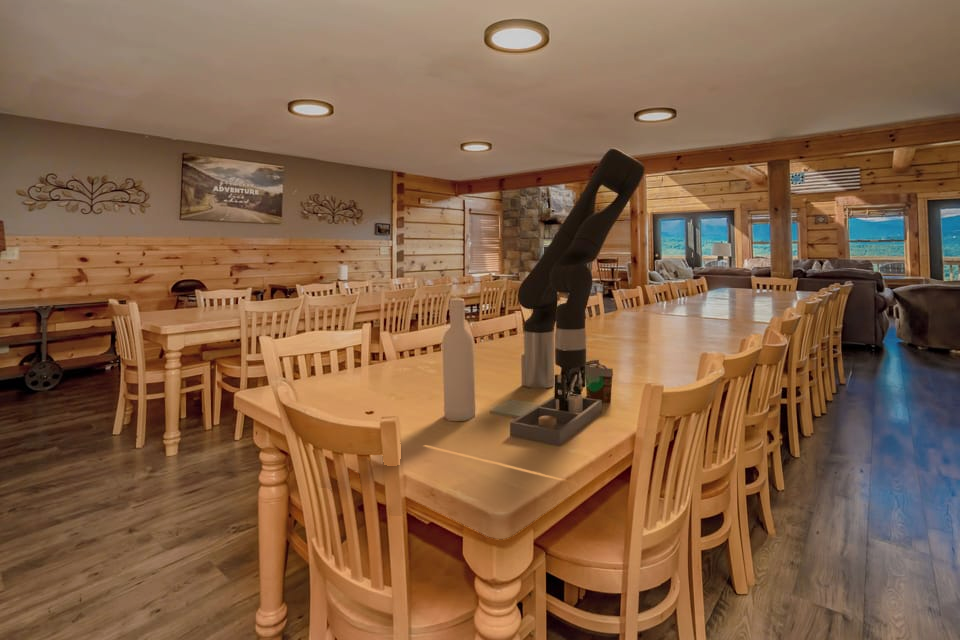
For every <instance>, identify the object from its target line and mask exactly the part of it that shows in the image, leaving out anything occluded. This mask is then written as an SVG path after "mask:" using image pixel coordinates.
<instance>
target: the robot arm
mask: <svg viewBox="0 0 960 640" xmlns="http://www.w3.org/2000/svg"><path fill="white" fill-rule="evenodd" d="M645 169H646V168H645V165H644V164H643V163H642V162H641V161H639V160H638V159H635V158H634V157H632V156H630V155H628V154H627V153H626V152H623V151H621V150H620V149H618V148H616V147H612V148H610V149H609V150H607V151H606V153H604V154H603V157H602V158H601V159H600V161H599V162H598V165H597V166H596V168H595V169H594V172H593V173H592V175H591V177H590V178H589V181H588V182H587V184H586V186H585V188H584V190H583V191H582V193H581V195H580V196H579V198H578V200H577V201H576V203H575V204H574V206H573V208H572V209H571V210H570V212H569V213H568V215H567V216H566V217H565V219H564V221H563V222H562V224H561V225H560V227H559V229H558V230H557V232H556V233H555V235H554V236H553V238H552V240H551V242H550V243H549V245H548V246H547V248H546V249H545V250H544V252H543V254H542V256H541V257H540V258H539V260H538V261H537V263H536V264H535V266H534V267H533V268H532V269H531V270H530V272H529V273H528V274H527V276H525V278H524V280H523V281H522V283H521V284H520V285H519V287H518V291H517V301H518V303H519V305H520V306H521V307H523V309H526V310H532V313H531V314H530V316H529V317H528V318H527V319H526V320H525V321H524V323H523V354H522V355H521V356H520V357H521V366H520V367H521V386H525V387H526V388H531V389H550V388H553V387H554V398H555V399H558V400H559V410H562V411H568V412H569V401H568V400H569V396H570V393H571V394H578V395H582V392H583V390H584V388H586V378H585V365H586V362H587V333H586V310H587V307H588V303H589V300H590V299H589V298H590V296H591V291H592V287H593V275H592V272H591V270H590V268H589V267H588V266H587V264H590V263H592V262H594V261H596V259H597V258H598V255H599V254H600V252H601V250H602V247H603V246H604V243H605V241H606V239H607V237H608V235H609V234H610V231H611V230H612V228H613V226H614V225H615V223H616V221H617V220H618V218H619V217H620V215H621V214H622V212H623V211H624V209H625V208H626V206H627V204H628V203H629V202H630V200H631V198H632V196H633V195H634V193H635V192H636V189H637V188H638V187H639V185H640V183H641V181H642V179H643V176H644V174H645ZM601 186H603V187H604V188H605V189H608V190H610V191H612V192H613V193H615V194H616V195H617V196H616V197H615V198H614V199H613V201H612V202H611V203H609V204H608V205H607V206H605V207H602V208H601V209H600V210H598V211H596V210H595V209H596V201H597V195H598V191H599V189H600V188H601ZM559 293H560V294H568V296H567V300H566V302H564V303H561V304H558V299H559V298H558V297H559V296H558V294H559ZM555 365H556V366H558V367H560V374H555Z"/></svg>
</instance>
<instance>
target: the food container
mask: <svg viewBox="0 0 960 640" xmlns="http://www.w3.org/2000/svg"><path fill="white" fill-rule="evenodd" d="M613 377H614V371H613V368H607V367H606V366H605V365H603V364H601V363H600V360H599V359H593V360H588V361H587V360H586V365H585V388H586V389H585V391H586V398H590V399H597V400H602V403H608V404H609V403H612V389H613V388H612V384H613Z"/></svg>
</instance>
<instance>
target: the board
mask: <svg viewBox="0 0 960 640" xmlns="http://www.w3.org/2000/svg"><path fill="white" fill-rule="evenodd" d="M540 404H541V403H534V402H528V401H523V400H515V399H508V400H507V401H505V402H503V403H501V404H499V405H498V406H496V407H494V408H491V409H489V413H490V414H494V415H498V416H504V417H510V418H515V419H516V418H518V417H520V416H521V415H523V414H525V413H526V412H528V411H530V410H532V409H533V408H535V407H537V406H538V405H540Z"/></svg>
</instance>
